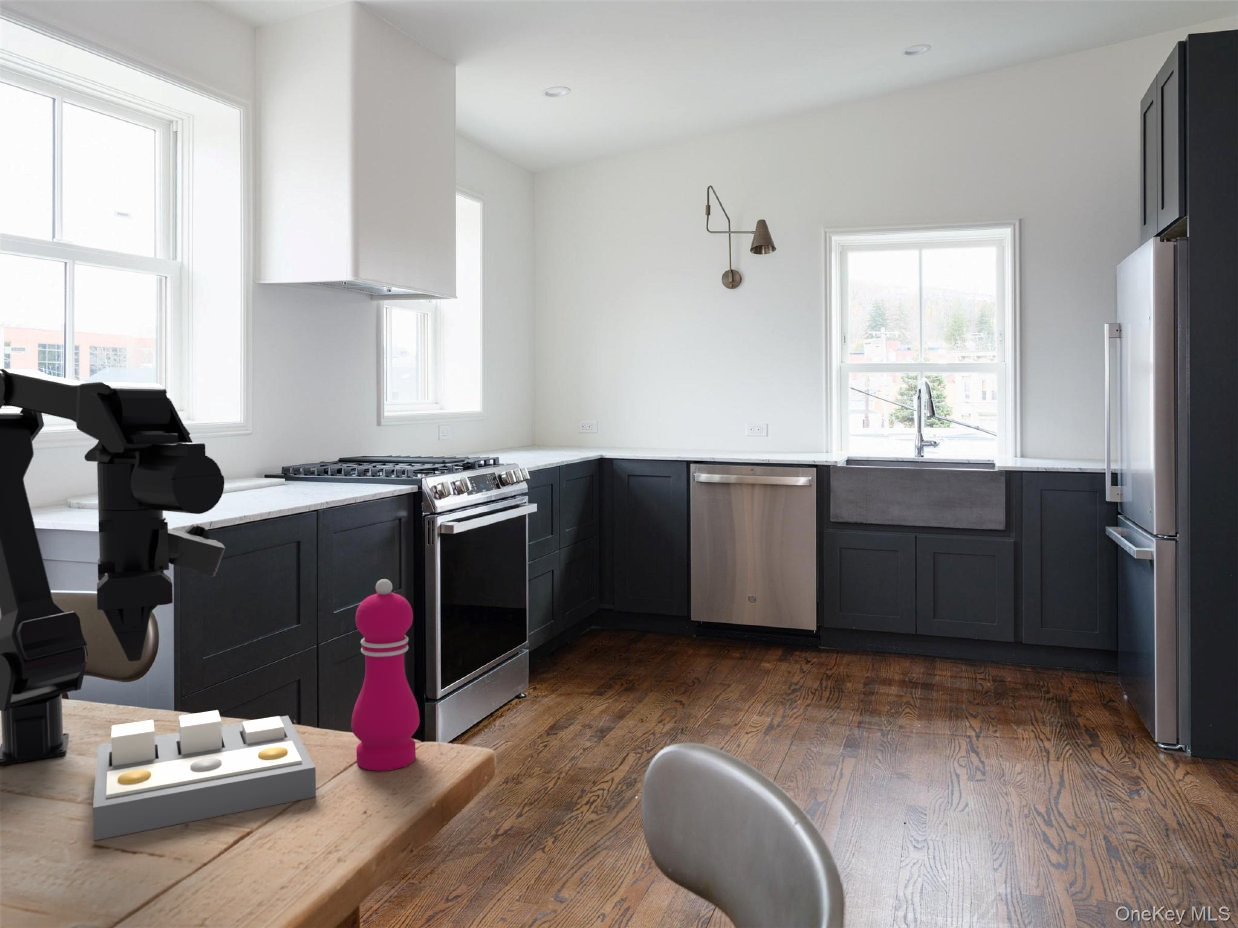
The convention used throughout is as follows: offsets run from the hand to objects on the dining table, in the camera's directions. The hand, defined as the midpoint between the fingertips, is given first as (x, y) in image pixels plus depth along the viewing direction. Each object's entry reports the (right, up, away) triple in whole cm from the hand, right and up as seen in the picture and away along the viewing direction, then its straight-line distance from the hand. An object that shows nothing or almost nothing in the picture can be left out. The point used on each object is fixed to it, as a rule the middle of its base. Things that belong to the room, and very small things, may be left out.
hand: (134, 660), depth 92 cm
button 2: (+11, -12, +6) cm, 17 cm away
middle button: (+5, -10, +3) cm, 12 cm away
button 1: (0, -10, 0) cm, 10 cm away
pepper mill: (+24, -13, +7) cm, 28 cm away
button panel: (+7, -13, 0) cm, 14 cm away
